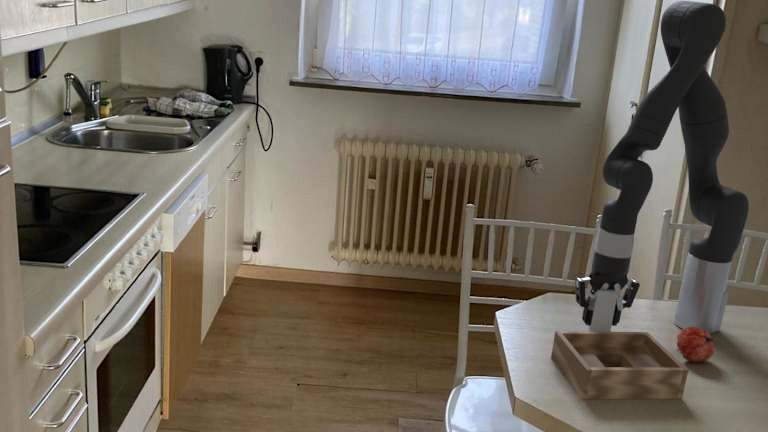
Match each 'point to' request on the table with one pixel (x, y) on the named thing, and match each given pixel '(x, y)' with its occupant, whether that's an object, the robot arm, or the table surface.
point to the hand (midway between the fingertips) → (599, 323)
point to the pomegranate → (695, 344)
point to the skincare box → (603, 311)
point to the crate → (618, 365)
